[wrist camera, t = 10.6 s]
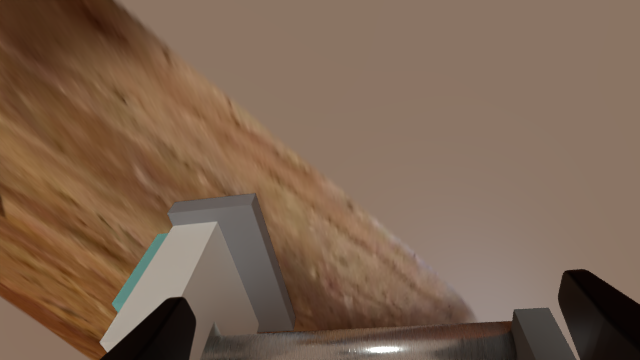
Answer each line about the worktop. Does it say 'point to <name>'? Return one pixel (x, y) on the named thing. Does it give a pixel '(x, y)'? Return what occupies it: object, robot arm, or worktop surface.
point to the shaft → (406, 342)
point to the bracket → (213, 273)
